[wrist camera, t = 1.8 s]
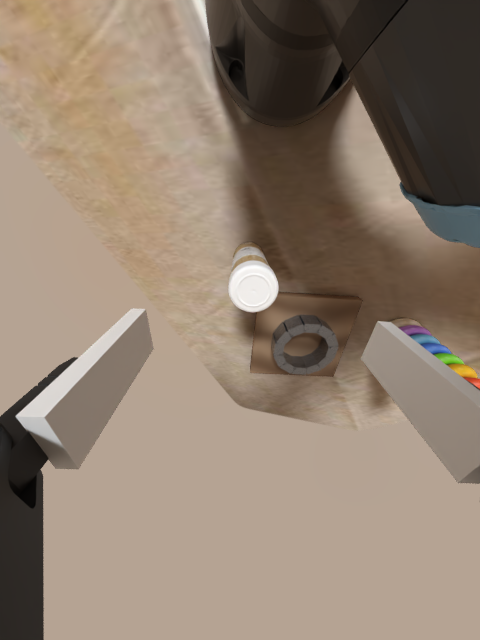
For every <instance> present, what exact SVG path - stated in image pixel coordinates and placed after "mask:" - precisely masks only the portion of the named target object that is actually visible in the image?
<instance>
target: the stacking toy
mask: <svg viewBox="0 0 480 640" xmlns="http://www.w3.org/2000/svg"><path fill="white" fill-rule="evenodd" d="M390 322H391V323H393V324H394V325H395V326H396V327H398V328H399V329H400V330H402V331H403V332H404V333H406V334H407V335H408V336H409V337H411V338H412V339H413V340H415V341H416V342H417V343H419V344H420V345H421V346H422V347H424V348H425V349H426V350H428V351H429V352H430V353H431V354H433V355H434V356H435V357H437V358H438V359H439V360H441V361H442V362H443V363H444V364H446V365H447V366H448V367H450V368H451V369H452V370H454V371H455V372H456V373H457V374H459V375H460V376H461V377H463V378H464V379H465V380H467V381H469V382H471V383H472V384H474V385H475V386H476V387H478V388H479V389H480V379H478V378H477V374H476V372H475V371H474V370H473V369H472V368H471V367H469V366H467V365H464V363H463V361H462V360H461V359H460V358H459V357H457V356H455V355H453V354H451V352H450V350H449V349H448V348H447V347H445V346H443V345H441V344H440V342H439V341H438V340H437V339H436V338H435V337H433V336H432V335H431V333H430V332H429V331H428V330H427V329H426V328H424V327H422V326H421V324H420V323H418V322H417V321H415V320H412V319H406V318H405V319H396V320H393V321H390Z"/></svg>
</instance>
